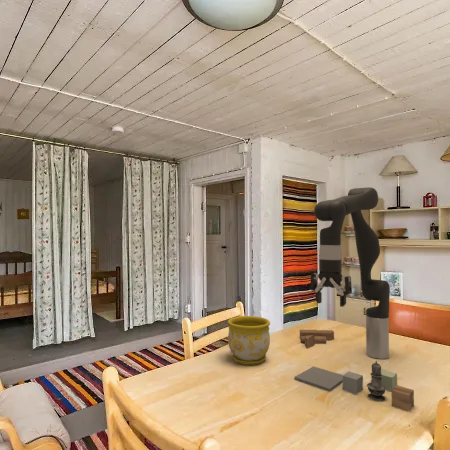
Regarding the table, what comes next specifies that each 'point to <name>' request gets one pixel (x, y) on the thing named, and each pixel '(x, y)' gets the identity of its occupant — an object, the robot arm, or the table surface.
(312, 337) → the wooden block set
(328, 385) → the grey tile
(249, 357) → the flowerpot
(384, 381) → the sage block
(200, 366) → the table surface
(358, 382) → the grey block
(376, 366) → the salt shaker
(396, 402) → the walnut block
